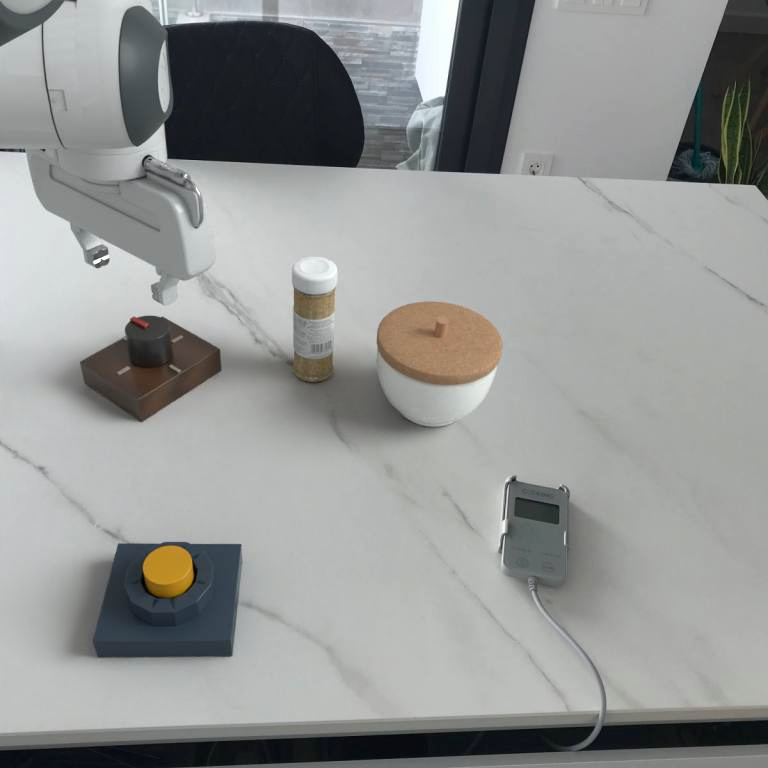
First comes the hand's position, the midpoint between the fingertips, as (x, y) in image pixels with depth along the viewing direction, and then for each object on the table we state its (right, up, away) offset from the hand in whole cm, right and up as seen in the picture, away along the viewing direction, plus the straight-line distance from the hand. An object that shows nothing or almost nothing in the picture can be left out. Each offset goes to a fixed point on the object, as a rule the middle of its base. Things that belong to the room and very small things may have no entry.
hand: (130, 281), depth 73 cm
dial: (0, -7, +8) cm, 10 cm away
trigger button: (+8, -25, -14) cm, 29 cm away
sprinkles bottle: (+16, -8, +13) cm, 22 cm away
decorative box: (+29, -12, +10) cm, 33 cm away
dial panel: (-1, -9, +10) cm, 13 cm away
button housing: (+7, -27, -12) cm, 31 cm away
